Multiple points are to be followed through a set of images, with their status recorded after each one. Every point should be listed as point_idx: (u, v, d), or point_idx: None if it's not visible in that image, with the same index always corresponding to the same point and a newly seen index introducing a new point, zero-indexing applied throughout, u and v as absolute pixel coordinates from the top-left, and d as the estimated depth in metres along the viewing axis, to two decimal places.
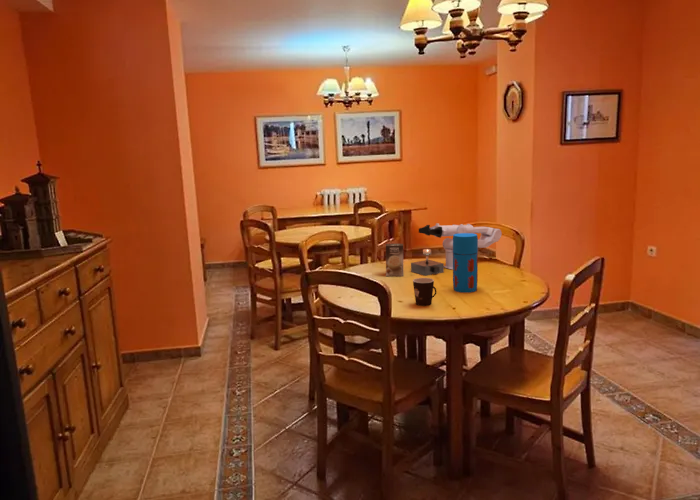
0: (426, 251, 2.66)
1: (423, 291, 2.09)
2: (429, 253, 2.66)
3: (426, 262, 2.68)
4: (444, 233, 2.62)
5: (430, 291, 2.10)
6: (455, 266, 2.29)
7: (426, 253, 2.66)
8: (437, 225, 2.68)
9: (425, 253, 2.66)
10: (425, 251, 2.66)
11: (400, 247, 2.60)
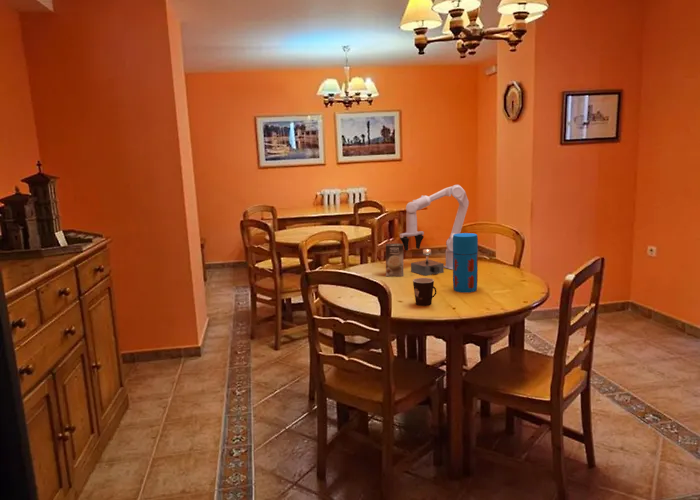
0: (426, 251, 2.66)
1: (423, 291, 2.09)
2: (429, 253, 2.66)
3: (426, 262, 2.68)
4: (401, 236, 2.74)
5: (430, 291, 2.10)
6: (455, 266, 2.29)
7: (426, 253, 2.66)
8: None
9: (425, 253, 2.66)
10: (425, 251, 2.66)
11: (400, 247, 2.60)
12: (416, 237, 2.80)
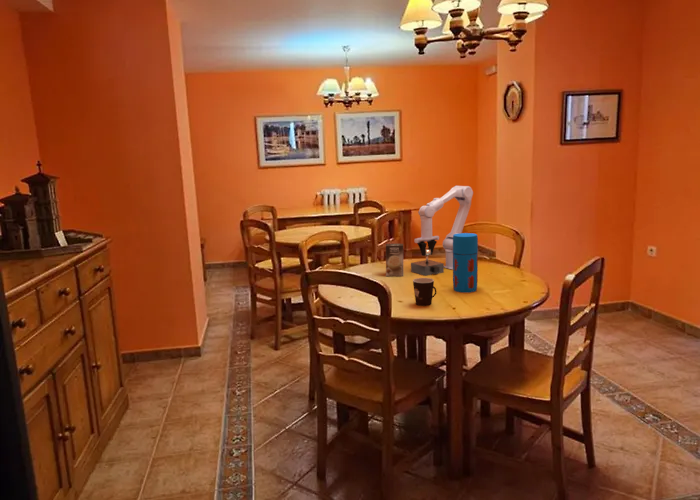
0: (426, 251, 2.66)
1: (423, 291, 2.09)
2: (429, 253, 2.66)
3: (426, 262, 2.68)
4: (416, 241, 2.63)
5: (430, 291, 2.10)
6: (455, 266, 2.29)
7: (426, 253, 2.66)
8: None
9: (425, 253, 2.66)
10: None
11: (400, 247, 2.60)
12: (429, 242, 2.68)
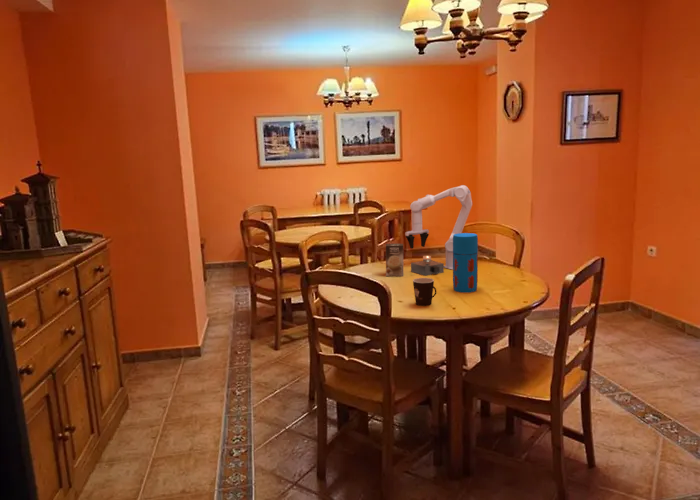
0: (426, 258, 2.66)
1: (423, 291, 2.09)
2: (429, 260, 2.67)
3: None
4: (406, 234, 2.78)
5: (430, 291, 2.10)
6: (455, 266, 2.29)
7: (426, 260, 2.66)
8: None
9: (425, 260, 2.67)
10: (425, 258, 2.66)
11: (400, 247, 2.60)
12: (421, 235, 2.84)
